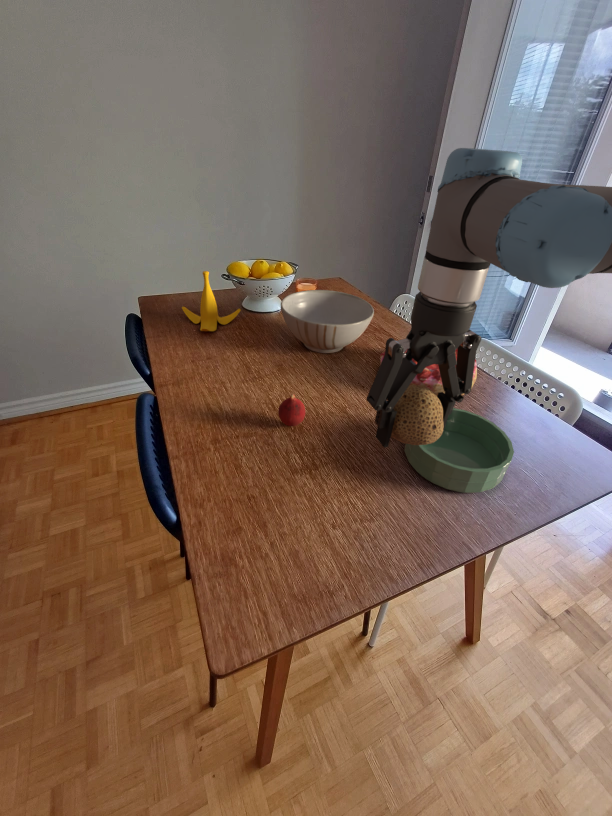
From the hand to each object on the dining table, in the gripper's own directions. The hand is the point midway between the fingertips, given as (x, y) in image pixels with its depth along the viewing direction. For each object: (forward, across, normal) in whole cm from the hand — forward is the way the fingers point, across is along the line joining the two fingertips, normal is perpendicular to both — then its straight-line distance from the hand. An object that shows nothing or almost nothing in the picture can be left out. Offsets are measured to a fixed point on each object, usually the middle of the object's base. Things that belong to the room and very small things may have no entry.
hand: (409, 435), depth 62 cm
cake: (+15, -32, -36) cm, 50 cm away
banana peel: (+15, +19, -81) cm, 84 cm away
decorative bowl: (+15, -12, -61) cm, 64 cm away
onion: (+15, +10, -26) cm, 32 cm away
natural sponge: (+2, 0, 0) cm, 2 cm away
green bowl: (+15, -18, -6) cm, 24 cm away
